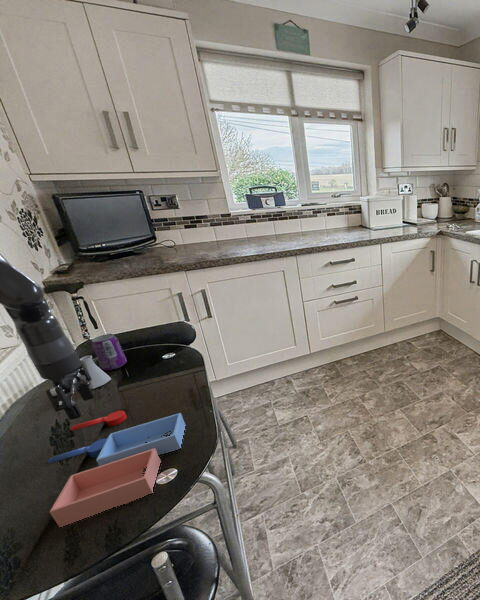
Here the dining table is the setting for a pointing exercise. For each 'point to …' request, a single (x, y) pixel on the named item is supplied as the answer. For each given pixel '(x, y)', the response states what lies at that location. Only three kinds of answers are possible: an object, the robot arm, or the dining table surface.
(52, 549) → the dining table surface
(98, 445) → the blue spoon
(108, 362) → the beverage can
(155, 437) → the blue bin
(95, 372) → the flask
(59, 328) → the robot arm
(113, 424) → the red spoon
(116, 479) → the rose bin
